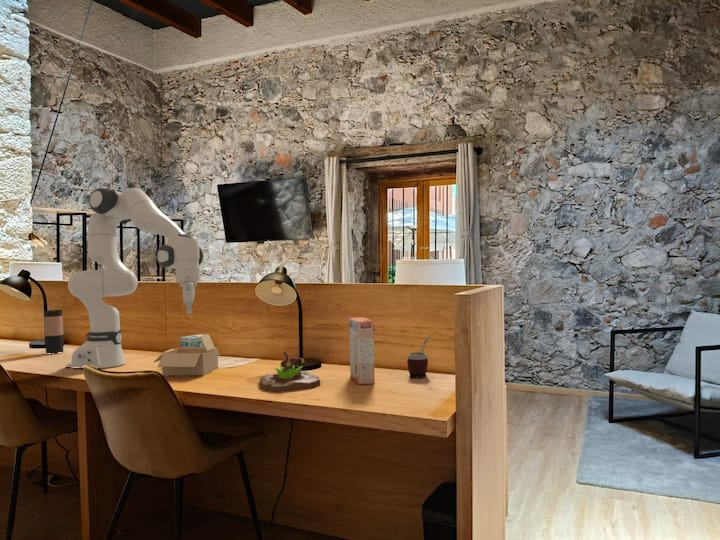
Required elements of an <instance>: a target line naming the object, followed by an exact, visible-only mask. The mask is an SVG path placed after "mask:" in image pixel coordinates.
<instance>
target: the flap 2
mask: <svg viewBox="0 0 720 540" xmlns="http://www.w3.org/2000/svg"><path fill="white" fill-rule="evenodd" d="M200 339H201V341H202V343H203V345H204V347H205V349H206V351H209V350H211V349H213V348H215V347H216V346H215V345H214V343H213V340H212V338H211V335H210V336H209V333H206V334H203V336H200Z"/></svg>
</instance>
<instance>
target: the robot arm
mask: <svg viewBox="0 0 720 540" xmlns="http://www.w3.org/2000/svg"><path fill="white" fill-rule="evenodd" d="M88 198H89V199H88V205H89V208H90V209H91V210H92V211H93V212H94V213H92V214H91V215H90V217H89V220H88V226H87V255H88V257H89V258H90V259H91V260H92V261H94V262H96V263H97V264H98V263H99V264H101V265H103V266H104V267H105V268H104V269H97V270H96V269H95V270H94V269H93V270H91V269H90V270H81V271H77V272H73V273H72V274H71V275H70V276H69V278H68V280H67V288H68V291H69V292H70V294H71V295H72V296H74V297H75V298H76V299H78V300H80V301H81V302H82V304H83V305H84V306H85V308H86V310H87V312H88V313H87V314H88V321H89V327H90V328H89V329H90V330H89V331H88V333H84V336H83V337H84V338H86V341H85V342H83V343H82V344H81V345H80V346H79V347H77V348H76V349H75V350H73V353H72V356H71V362H70V363H67V364H65V367H66V366H67V367H79V368H82V367H83V365H93V366H95V367H97V368H100V369H106V368H107V369H108V368H114V367H119V366H123V365H125V364H126V361H125V357H124V354H123V347H122V329H121V325H120V324H121V321H120V312H119V309H117V308H116V307H115V306H113V305H109V304H107V303H106V302H104V301H103V298H104V297H105V298H107V297H108V298H109V297H123V296H127V295H132V294H133V293H134V292H135V291H136V290H137V288H138V284H139V283H138V282H139V281H138V277H137V275H136V274H135V273H134V272H133V271H132V270H131V269H129V268H127V266H125V264H124V263H123V262H122V261H121V258H120V255H119V250H118V234H117V232H118V231H117V227H118V225H119V224H120V225H126V224H127V223H130V222H131V223H132V224H133V226H134V227H136V228H137V229H138V230H141V231H143V232H146V233H147V232H148V233H151V234H156V235H160V236H163V237H165V238H167V239H169V240H170V241H169V242H168V243H165V244H162V245H160V247H158V249H157V252H156V261H157V263H158V265H159V266H160V267H161V268H162V269H163V268H164V269H170V270H172V269H175V282H176V283H178V284H179V287H182V302H183V304H185V308H186V315H191V314H192V313H193V309H192V307H193V304H194V301H195V293H196V286H198V282H200V281H201V264H202V263H203V261H204V252H203V249H202V247H201V246H200V245H199V241H198V238H197V236H195V235H194V234H186V233H185V232H184V231H183V230H182V229H181V228H180V227H179V225H178V224H177V223H176V222H175V221H174V220H172V219H171V218H169V217H168V216H167V215H166V214H164V213H163V212H162V211H161V210H160V209H159V208H158V207H157V205H156V204H155V203H154V202H153V201H152V199H151V198H150V197H149V196H148V194H146V192H144V190H142V189H140V188H138V187H131V188H128V189H127V190H125V191H124V192H121V191H116V190H113V189H111V188H107V187H106V188H103V187H98V188H96V189H94V190H92V192H91V193H90V195H89V197H88Z"/></svg>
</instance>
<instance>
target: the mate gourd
mask: <svg viewBox="0 0 720 540" xmlns="http://www.w3.org/2000/svg"><path fill="white" fill-rule="evenodd" d="M433 335H434V334H431V335H428V336H427V337H426V338H425V339H424V342H423V344H422V345H423V346H422V349H421V351H420V352H411V353H409V354H408V357H407V367H408V372H409V379H411V378H418V379H423V377H427V370H428V366H429V365H428V364H429V360H428V356H427V355H426V353H425V352H424V350H425V347H426V344H427V342H428V340H429V339H431V337H432V336H433Z"/></svg>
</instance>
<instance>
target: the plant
mask: <svg viewBox="0 0 720 540" xmlns="http://www.w3.org/2000/svg"><path fill="white" fill-rule="evenodd" d="M282 355H283V357H285V363H284V364H285V365H284V366H282V365H279V368H277V367H272V368H273V369H274V370H275V371H276V372H277V373H273V374H266V375H262V376H261V377H260V378H259V389H260V390H263V391H265V392H266V391H267V392H268V391H269V392H271V393H286V392H291V391H298V390H309V389H310V390H311V389H313V388H317V387H319V386H321V379H320V377H319V376H318V375H315V374H313V373H311V372H309V371H305V370H304V369H302V368H303V365H302V366H298V367H297V368H295V367H296V366H295V365H294V364H295V363H296V362H298V361H300V363H301V364H304V363H305V359H304V358H303V357H300V358H295V359H294V360H293V361H292V362H291V360H290V358H289V355H288V353H287V351H283V352H282Z"/></svg>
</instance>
